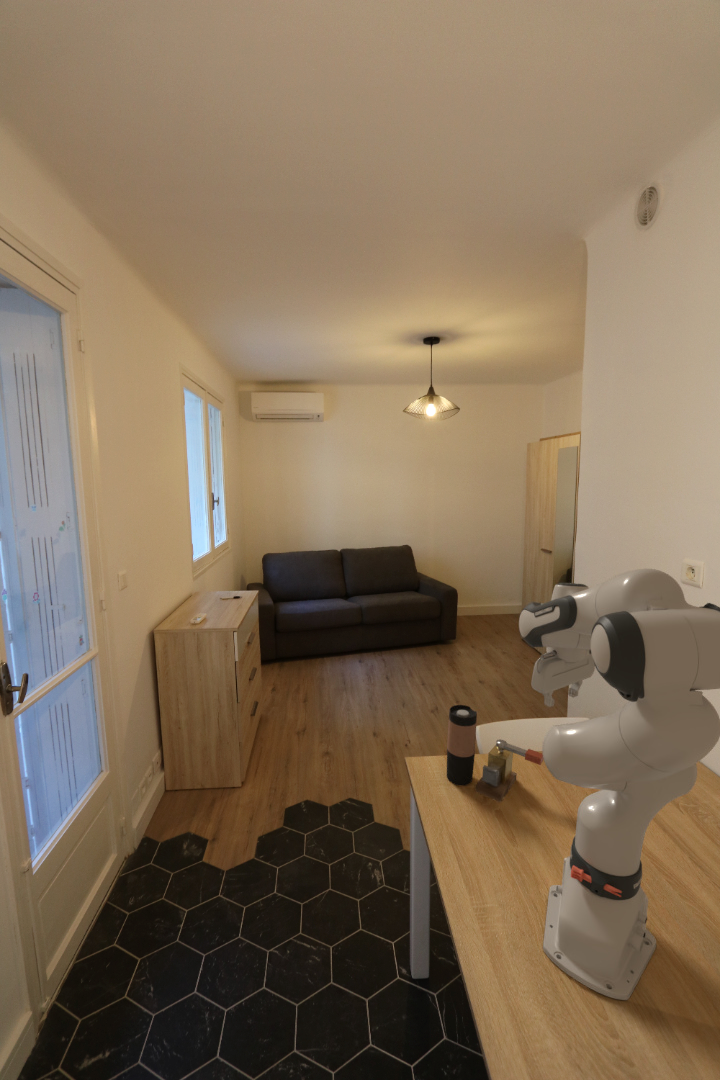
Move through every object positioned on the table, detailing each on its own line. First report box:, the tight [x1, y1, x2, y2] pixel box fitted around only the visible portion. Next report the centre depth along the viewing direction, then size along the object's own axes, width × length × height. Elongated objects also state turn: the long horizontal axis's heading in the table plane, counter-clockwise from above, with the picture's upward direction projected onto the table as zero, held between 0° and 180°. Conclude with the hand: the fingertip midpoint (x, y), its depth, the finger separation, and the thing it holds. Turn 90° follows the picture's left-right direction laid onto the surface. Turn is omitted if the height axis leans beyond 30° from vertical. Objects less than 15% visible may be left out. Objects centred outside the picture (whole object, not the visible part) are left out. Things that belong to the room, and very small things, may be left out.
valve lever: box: [495, 739, 544, 766], centre depth 129 cm, size 12×3×2 cm, turn 53°
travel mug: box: [446, 704, 478, 787], centre depth 134 cm, size 8×8×20 cm
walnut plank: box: [474, 771, 518, 803], centre depth 132 cm, size 12×7×2 cm, turn 143°
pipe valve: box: [481, 744, 514, 788], centre depth 131 cm, size 11×5×8 cm, turn 143°
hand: (561, 700), depth 118 cm, fingers open, 8 cm apart
